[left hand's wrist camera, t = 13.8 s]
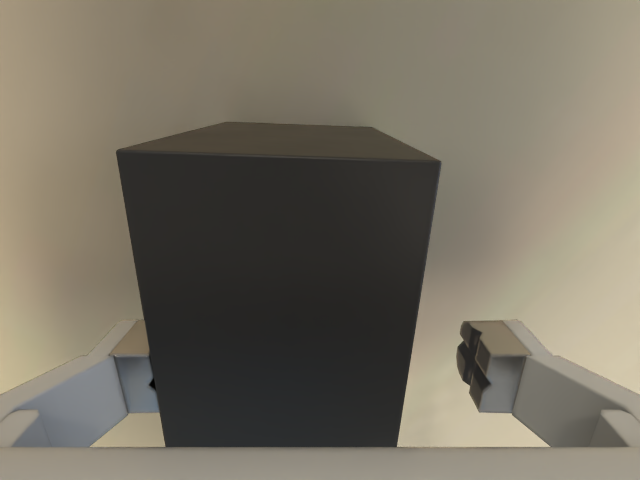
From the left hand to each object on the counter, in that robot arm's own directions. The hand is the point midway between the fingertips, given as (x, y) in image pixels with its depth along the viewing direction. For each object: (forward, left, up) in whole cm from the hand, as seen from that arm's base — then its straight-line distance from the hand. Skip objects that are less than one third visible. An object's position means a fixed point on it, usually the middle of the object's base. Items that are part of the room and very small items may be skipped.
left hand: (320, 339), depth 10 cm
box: (+4, -5, -7) cm, 9 cm away
